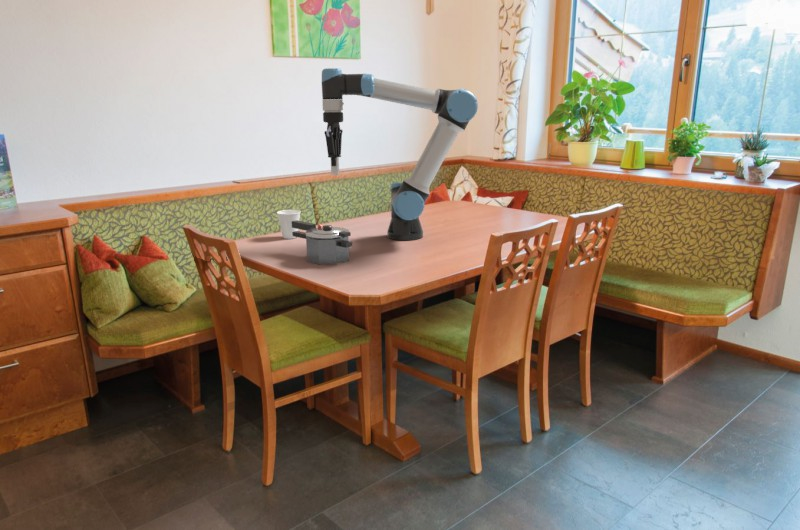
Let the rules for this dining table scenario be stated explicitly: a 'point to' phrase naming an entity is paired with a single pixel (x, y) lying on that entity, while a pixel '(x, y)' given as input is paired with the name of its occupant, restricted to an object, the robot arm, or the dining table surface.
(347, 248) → the cooker pot
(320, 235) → the lid
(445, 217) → the dining table surface
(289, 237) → the cup
